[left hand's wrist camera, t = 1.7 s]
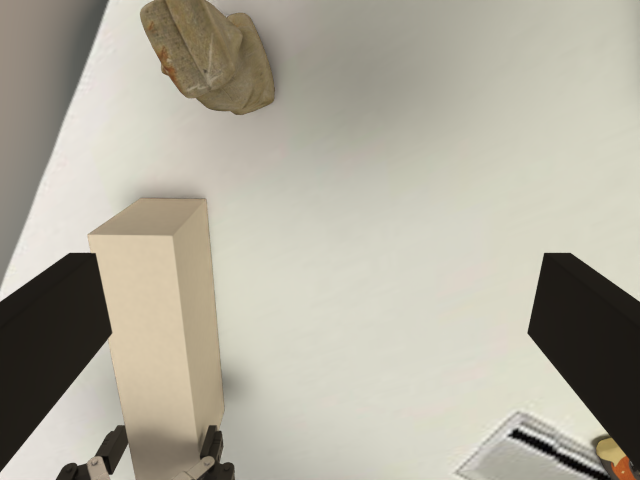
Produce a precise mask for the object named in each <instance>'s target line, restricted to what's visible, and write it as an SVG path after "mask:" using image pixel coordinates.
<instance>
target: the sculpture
mask: <svg viewBox="0 0 640 480" xmlns="http://www.w3.org/2000/svg"><path fill="white" fill-rule="evenodd" d="M140 18H141V22H142V25H143V27H144V30H145V32H146V34H147V37H148V39H149V41H150V43H151V45H152V47H153V49H154V51H155V52H156V54H157V56H158V58H159V60H160V62H161V71H162V73H164V74H165V75H168V76H169V77H170V78H171V80H172V81H173V83H174V84H175V85H176V87H177V88H178V89H179V91H180V92H181V93H182V94H183V95H184V96H185V97H187V98H196V99H197V100H198V101H200V102H201V103H202V104H203V105H204V106H206V107H207V108H209V109H212V110H217V111H231V112H232V113H234V114H236V115H243V114H246V113H249V112H253V111H255V110H258V109H260V108H262V107H264V106H267V105H269V104H271V103H272V102H273V101H274V91H275V88H274V82H273V76H272V72H271V68H270V65H269V62H268V59H267V56H266V53H265V50H264V48H263V45H262V42H261V40H260V38H259V35H258V33H257V31H256V29H255V26H254V24H253V22H252V20H251V18H250V17H249V16H248V15H247V14H245V13H235V14H232V15H230V16H228V17H227V18H226V17H225V16H224V15H223V14H222V13H221V12H220V11H219V10H217V9H216V8H215V7H214V6H213V5H212V4H211V3H209V2H208V1H206V0H154V1H152V2H150V3H148V4H146V5H145V6H144V7H143V8H142V9H141V12H140Z"/></svg>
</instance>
